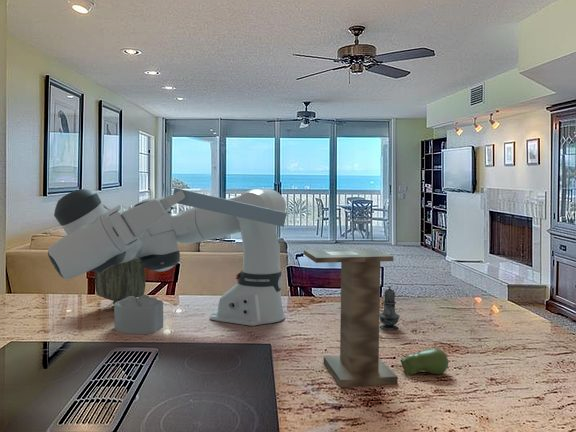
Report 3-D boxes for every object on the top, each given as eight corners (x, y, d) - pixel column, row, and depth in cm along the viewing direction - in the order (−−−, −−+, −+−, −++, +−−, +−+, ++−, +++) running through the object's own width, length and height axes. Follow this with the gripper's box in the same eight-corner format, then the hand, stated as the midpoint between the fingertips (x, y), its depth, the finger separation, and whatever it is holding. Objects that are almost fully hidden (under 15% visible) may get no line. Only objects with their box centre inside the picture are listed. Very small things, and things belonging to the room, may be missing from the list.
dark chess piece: (399, 331, 139) (400, 288, 138) (378, 330, 140) (378, 287, 139) (399, 325, 144) (400, 284, 144) (378, 324, 146) (379, 283, 145)
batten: (171, 202, 103) (174, 187, 103) (172, 201, 107) (175, 187, 107) (283, 226, 107) (286, 213, 107) (280, 225, 111) (283, 212, 111)
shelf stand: (316, 389, 99) (317, 258, 98) (301, 364, 113) (302, 249, 111) (397, 383, 102) (400, 256, 101) (374, 360, 116) (375, 248, 114)
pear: (448, 352, 105) (400, 358, 106) (452, 376, 105) (404, 382, 106) (443, 343, 110) (397, 349, 112) (446, 367, 111) (401, 372, 112)
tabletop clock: (146, 309, 161) (145, 232, 160) (123, 315, 154) (121, 234, 152) (116, 303, 169) (115, 229, 167) (93, 309, 161) (91, 231, 160)
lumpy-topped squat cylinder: (150, 335, 134) (150, 303, 134) (106, 332, 137) (105, 300, 136) (167, 324, 144) (166, 294, 144) (125, 322, 147) (124, 292, 146)
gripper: (139, 234, 114) (192, 204, 116) (126, 245, 94) (191, 208, 96) (124, 210, 113) (178, 180, 115) (108, 216, 93) (174, 179, 95)
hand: (184, 193), depth 105 cm, fingers closed on batten, 4 cm apart
